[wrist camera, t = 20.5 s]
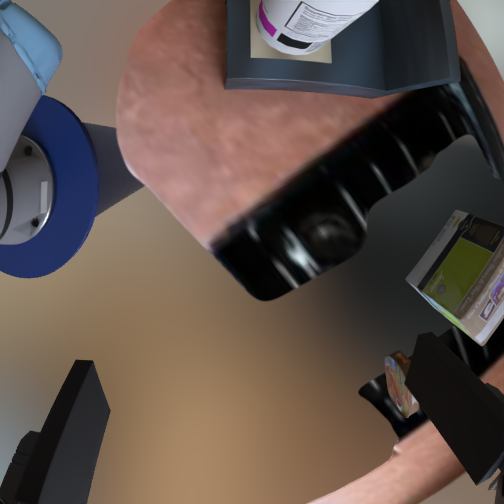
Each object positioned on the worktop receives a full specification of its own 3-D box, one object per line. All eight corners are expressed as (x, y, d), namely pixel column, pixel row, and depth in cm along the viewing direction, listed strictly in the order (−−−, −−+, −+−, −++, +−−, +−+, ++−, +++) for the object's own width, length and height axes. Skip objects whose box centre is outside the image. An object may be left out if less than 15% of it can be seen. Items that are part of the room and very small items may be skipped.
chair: (224, 89, 37) (234, 44, 19) (225, -5, 32) (236, -86, 15) (372, 98, 39) (461, 81, 21) (366, 11, 34) (440, -38, 17)
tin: (381, 347, 52) (404, 375, 44) (397, 340, 52) (420, 367, 44) (388, 399, 57) (406, 426, 49) (401, 392, 57) (420, 419, 49)
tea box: (432, 306, 51) (482, 349, 37) (402, 277, 48) (458, 321, 34) (479, 241, 48) (536, 269, 34) (455, 206, 45) (519, 229, 31)
